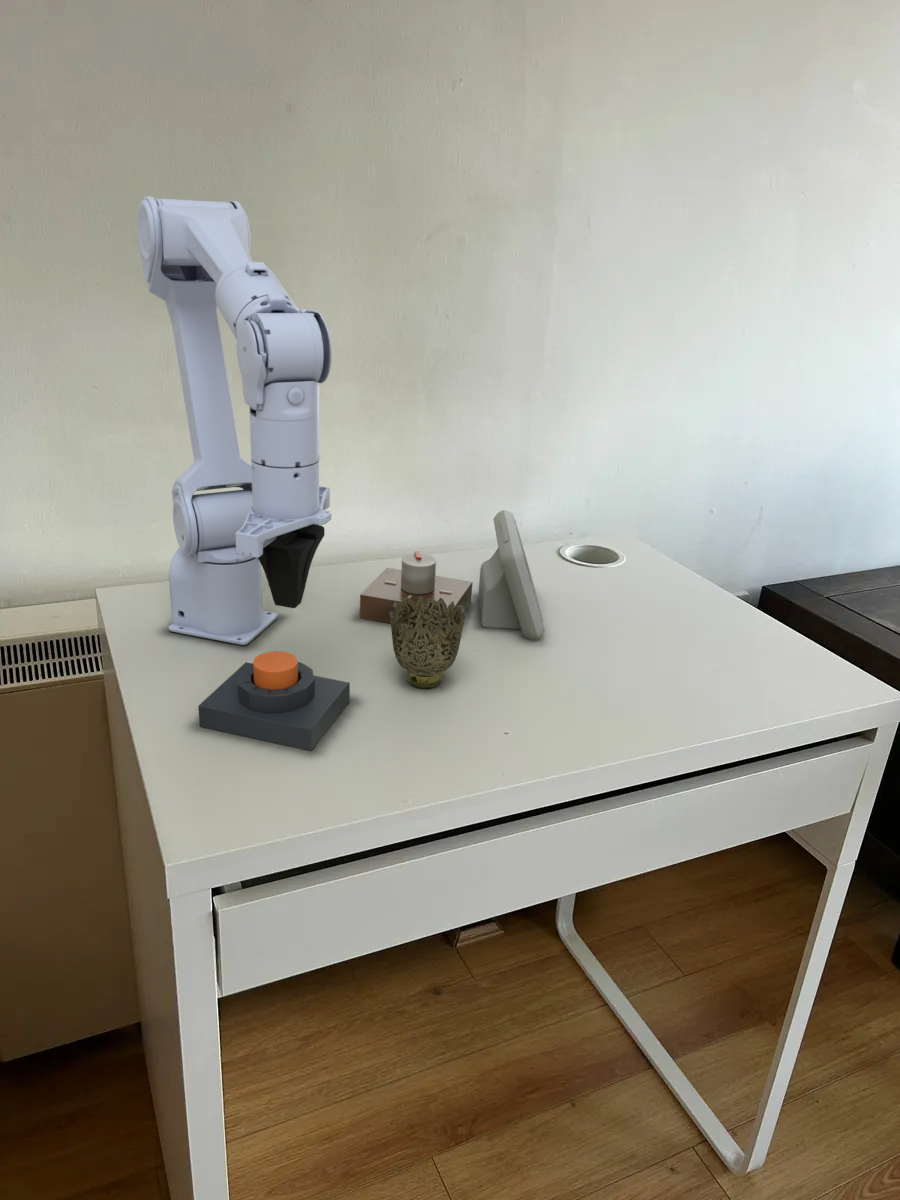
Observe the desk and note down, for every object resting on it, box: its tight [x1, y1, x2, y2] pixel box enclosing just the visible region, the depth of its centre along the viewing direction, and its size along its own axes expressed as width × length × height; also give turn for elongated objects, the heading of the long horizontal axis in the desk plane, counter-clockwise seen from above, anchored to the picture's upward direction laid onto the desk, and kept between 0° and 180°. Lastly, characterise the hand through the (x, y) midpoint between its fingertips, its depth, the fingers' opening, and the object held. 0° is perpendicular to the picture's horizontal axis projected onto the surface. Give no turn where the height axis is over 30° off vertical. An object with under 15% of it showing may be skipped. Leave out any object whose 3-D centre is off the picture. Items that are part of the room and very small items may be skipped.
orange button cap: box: [252, 650, 299, 690], centre depth 82 cm, size 4×4×2 cm
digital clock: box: [477, 509, 545, 640], centre depth 106 cm, size 16×9×11 cm, turn 169°
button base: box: [198, 661, 351, 752], centre depth 84 cm, size 11×9×4 cm
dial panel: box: [359, 567, 473, 625], centre depth 106 cm, size 11×9×3 cm
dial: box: [400, 550, 437, 594], centre depth 105 cm, size 4×4×4 cm
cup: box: [390, 596, 466, 689], centre depth 90 cm, size 8×7×8 cm
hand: (287, 604), depth 82 cm, fingers closed
